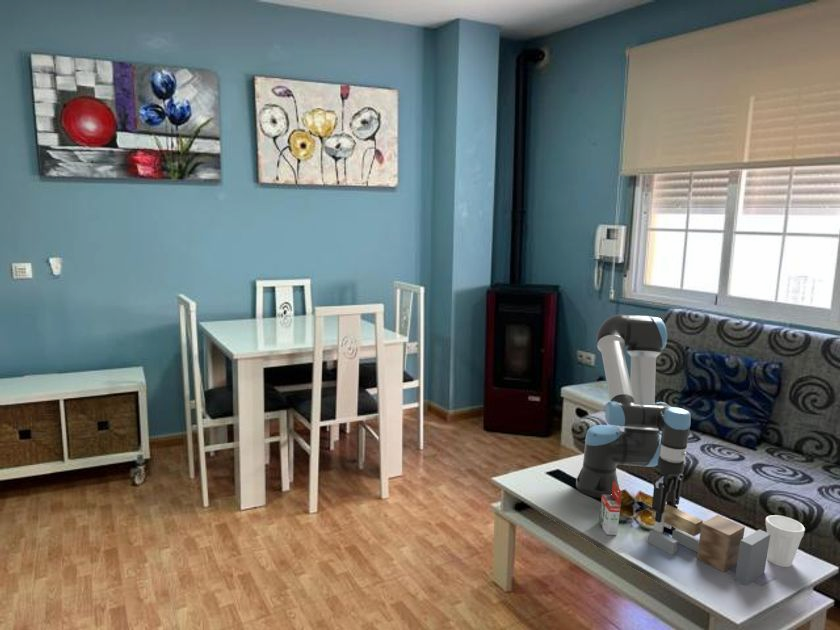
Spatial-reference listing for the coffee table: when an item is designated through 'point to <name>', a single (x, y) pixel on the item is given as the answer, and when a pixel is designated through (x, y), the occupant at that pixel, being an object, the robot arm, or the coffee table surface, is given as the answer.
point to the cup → (783, 539)
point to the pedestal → (662, 541)
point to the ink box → (610, 511)
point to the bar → (681, 520)
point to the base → (749, 553)
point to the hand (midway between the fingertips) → (662, 528)
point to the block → (720, 542)
